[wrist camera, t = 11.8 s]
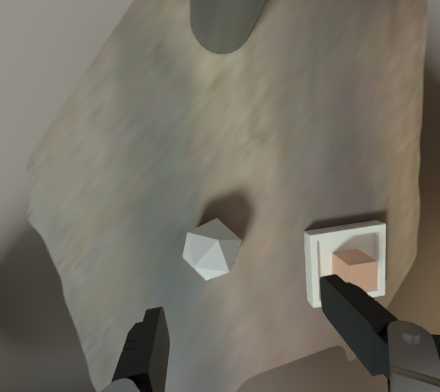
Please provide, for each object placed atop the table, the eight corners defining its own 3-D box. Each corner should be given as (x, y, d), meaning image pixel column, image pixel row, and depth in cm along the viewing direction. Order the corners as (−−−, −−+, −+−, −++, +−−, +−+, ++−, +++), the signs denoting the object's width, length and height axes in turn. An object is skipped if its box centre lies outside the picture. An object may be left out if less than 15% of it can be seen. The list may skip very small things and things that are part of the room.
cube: (331, 252, 44) (349, 265, 39) (357, 249, 45) (378, 261, 40) (332, 278, 45) (349, 293, 40) (357, 274, 46) (377, 288, 41)
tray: (303, 231, 44) (309, 235, 42) (375, 220, 45) (385, 223, 43) (307, 300, 47) (313, 308, 45) (375, 287, 48) (384, 295, 46)
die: (178, 256, 43) (206, 302, 37) (169, 221, 38) (201, 269, 31) (218, 235, 47) (251, 274, 40) (216, 200, 41) (253, 239, 34)
